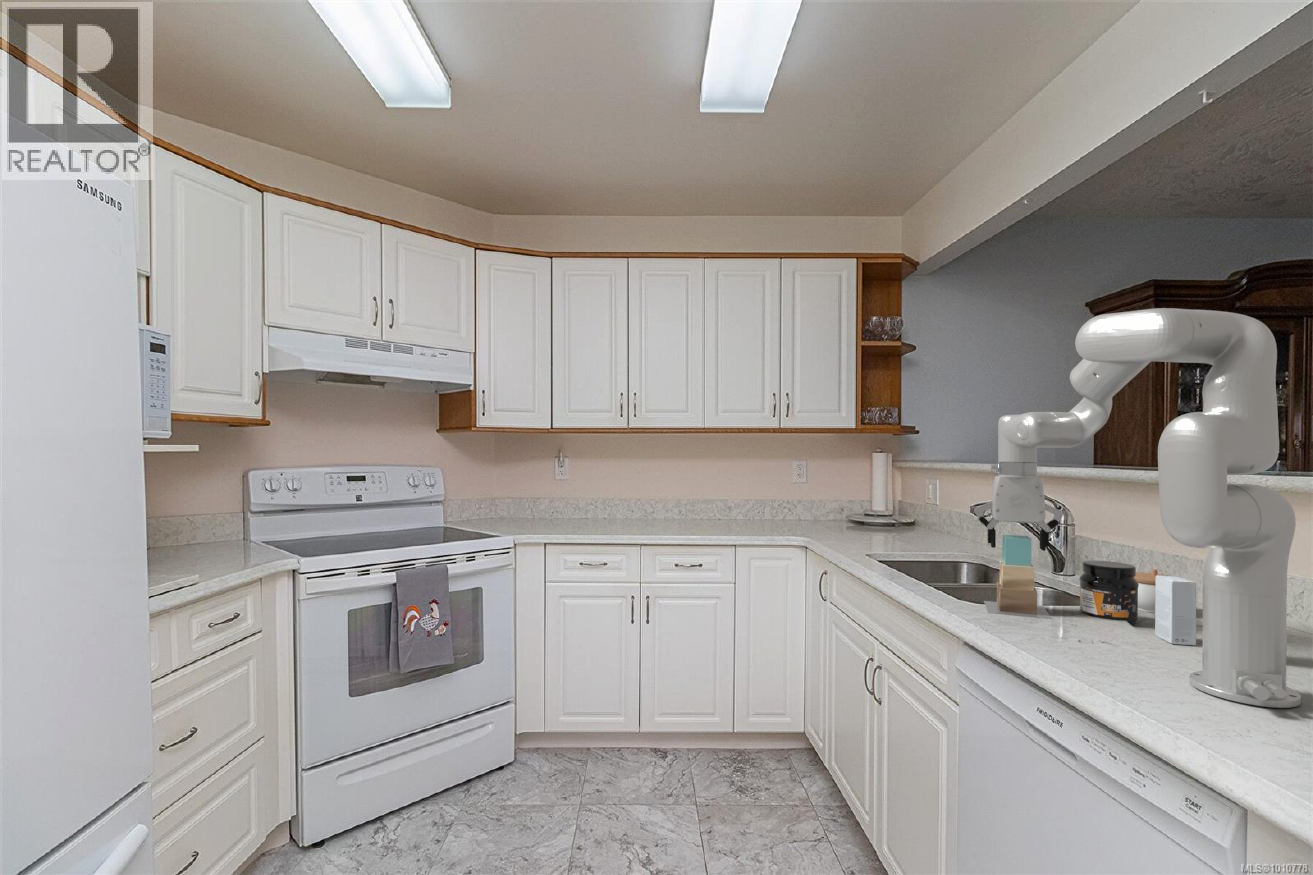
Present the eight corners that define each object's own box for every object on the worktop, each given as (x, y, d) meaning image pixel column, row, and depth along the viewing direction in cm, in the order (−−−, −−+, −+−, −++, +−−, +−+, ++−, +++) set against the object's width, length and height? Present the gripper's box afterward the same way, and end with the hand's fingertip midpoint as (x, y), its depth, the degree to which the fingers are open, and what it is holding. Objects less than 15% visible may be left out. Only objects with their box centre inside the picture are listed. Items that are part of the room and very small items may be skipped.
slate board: (1052, 624, 137) (1052, 619, 137) (988, 618, 141) (988, 612, 141) (1042, 611, 148) (1042, 606, 148) (983, 605, 152) (983, 600, 152)
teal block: (1031, 566, 141) (1031, 538, 142) (1005, 565, 143) (1005, 537, 143) (1027, 563, 146) (1027, 536, 146) (1002, 561, 148) (1002, 534, 148)
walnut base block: (1036, 614, 140) (1037, 591, 140) (1000, 611, 143) (1000, 588, 143) (1031, 607, 147) (1032, 585, 147) (996, 604, 149) (996, 582, 149)
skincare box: (1197, 646, 123) (1197, 582, 123) (1171, 644, 124) (1171, 581, 124) (1178, 637, 129) (1178, 576, 129) (1153, 635, 130) (1154, 574, 130)
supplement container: (1077, 620, 140) (1077, 564, 141) (1081, 611, 149) (1081, 558, 149) (1138, 629, 134) (1138, 570, 134) (1138, 618, 143) (1138, 563, 143)
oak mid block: (1034, 590, 141) (1034, 567, 141) (1002, 588, 143) (1002, 565, 143) (1029, 585, 146) (1029, 562, 146) (999, 582, 149) (999, 560, 149)
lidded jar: (1128, 602, 158) (1128, 563, 158) (1185, 610, 151) (1185, 569, 151) (1123, 611, 149) (1123, 569, 150) (1183, 619, 142) (1183, 576, 143)
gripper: (975, 470, 145) (975, 548, 144) (1066, 471, 138) (1066, 553, 138) (972, 469, 152) (972, 543, 151) (1059, 471, 145) (1059, 548, 145)
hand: (1017, 548), depth 144 cm, fingers open, 9 cm apart
